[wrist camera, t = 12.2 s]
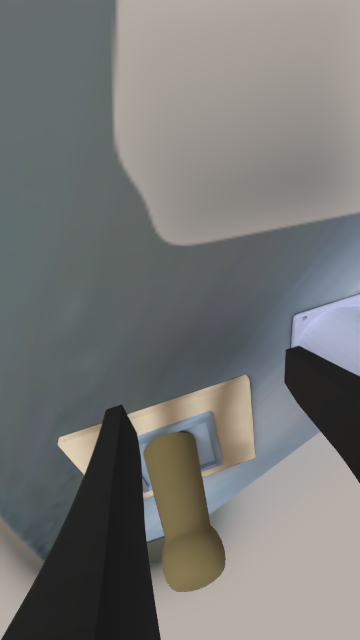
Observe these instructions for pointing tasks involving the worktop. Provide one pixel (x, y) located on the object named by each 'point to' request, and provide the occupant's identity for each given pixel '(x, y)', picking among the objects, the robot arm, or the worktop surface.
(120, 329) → the worktop surface
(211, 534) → the cork
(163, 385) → the worktop surface
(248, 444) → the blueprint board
